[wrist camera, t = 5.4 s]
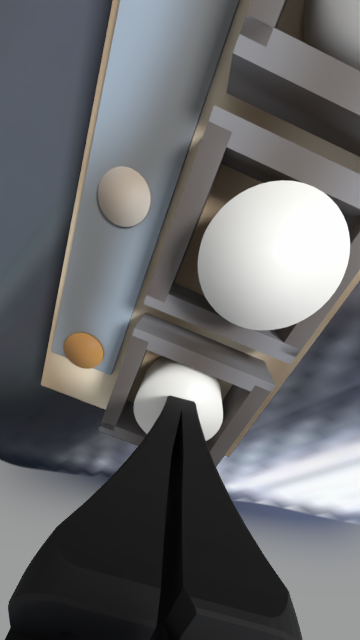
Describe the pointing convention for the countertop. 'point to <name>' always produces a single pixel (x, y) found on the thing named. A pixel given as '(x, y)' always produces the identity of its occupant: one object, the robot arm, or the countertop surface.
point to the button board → (194, 199)
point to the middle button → (273, 255)
